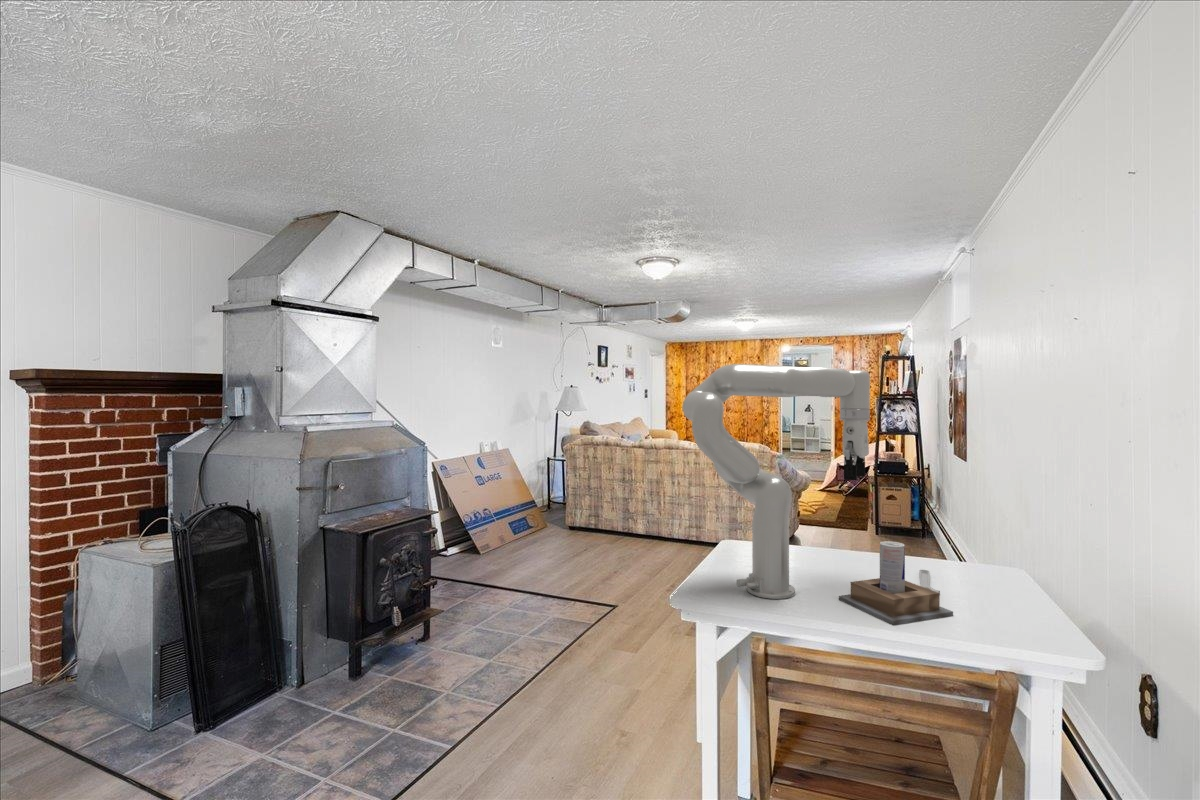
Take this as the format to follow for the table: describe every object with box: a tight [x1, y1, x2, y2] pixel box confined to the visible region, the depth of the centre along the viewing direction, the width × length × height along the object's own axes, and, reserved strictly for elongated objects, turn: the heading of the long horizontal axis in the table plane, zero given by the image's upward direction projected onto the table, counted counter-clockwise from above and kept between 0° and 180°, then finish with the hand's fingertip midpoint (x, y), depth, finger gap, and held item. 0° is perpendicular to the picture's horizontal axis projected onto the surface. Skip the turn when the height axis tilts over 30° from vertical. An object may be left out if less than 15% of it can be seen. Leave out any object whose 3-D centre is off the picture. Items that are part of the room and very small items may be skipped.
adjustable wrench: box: [919, 569, 941, 594], centre depth 164 cm, size 25×6×2 cm, turn 147°
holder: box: [838, 577, 954, 626], centre depth 147 cm, size 18×18×5 cm
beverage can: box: [879, 540, 906, 594], centre depth 147 cm, size 6×6×15 cm
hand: (854, 477), depth 162 cm, fingers open, 9 cm apart
